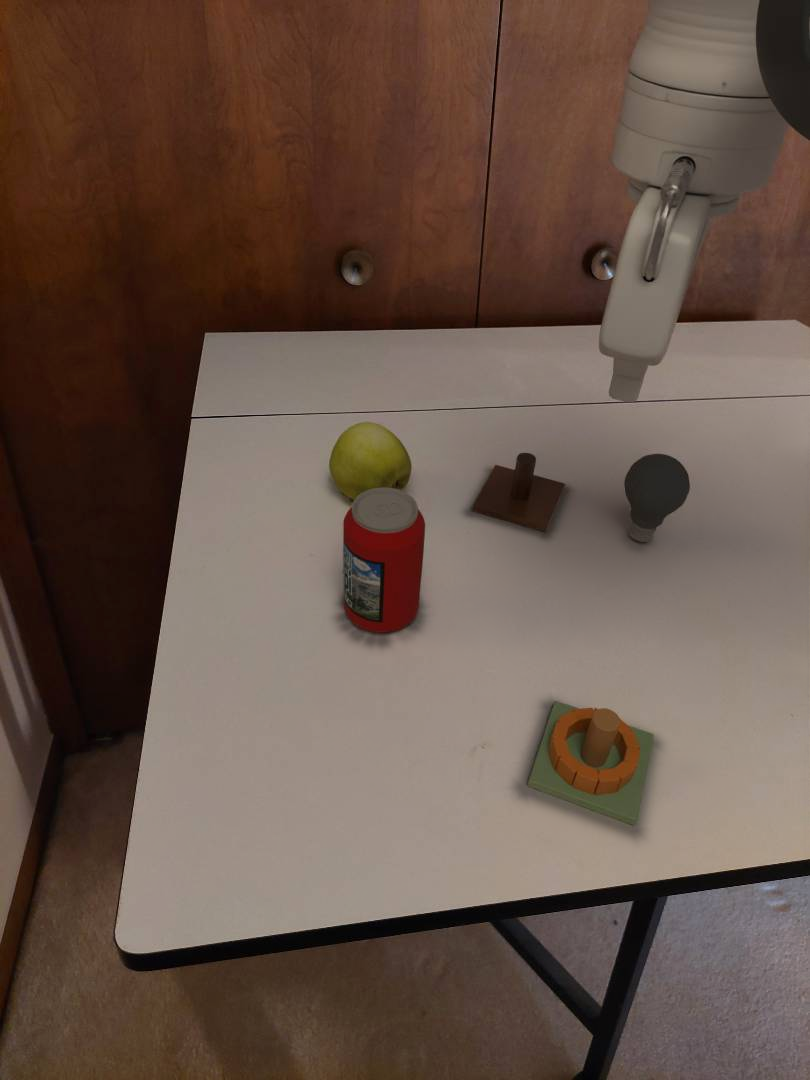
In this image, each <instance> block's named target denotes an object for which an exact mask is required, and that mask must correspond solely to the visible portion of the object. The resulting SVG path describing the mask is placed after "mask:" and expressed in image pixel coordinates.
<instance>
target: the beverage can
mask: <svg viewBox="0 0 810 1080" xmlns="http://www.w3.org/2000/svg"><path fill="white" fill-rule="evenodd" d="M425 521H426V520H425V518H424V516H423V514H422V512H421V511H420V509H419V506H418V503H417V501H416V500H415V499H414V497H413V496H412V495H411V494H409V493H408V492H405V491H403V490H398V489H394V488H383V487H382V488H374V489H370V490H367V491H365V492H363V493H361V494H360V495H358V496H357V497H356V498H355V500H353V502H352V505H351V507H350V508H349V509H348V510H347V512H346V513H345V516H344V517H343V522H342V523H343V529H342V534H343V536H342V538H343V539H342V541H343V542H342V545H343V546H342V547H343V548H342V554H343V556H342V560H343V565H342V566H343V567H342V568H343V606H344V610H345V613H346V616H347V617H348V618H349V620H350V621H351V622H352V623H353V624H355V625H356V626H358V627H360V628H362V629H363V630H366V631H370V632H375V633H388V632H393V631H394V632H395V631H397V630H400V629H403V628H405V627H406V626H407V625H410V623H412V621H413V620H414V619H415V618H416V617H417V614H418V611H419V607H420V597H421V596H420V595H421V585H422V577H423V575H422V574H423V561H424V552H425V551H424V550H425V536H426V535H425V534H426V522H425Z"/></svg>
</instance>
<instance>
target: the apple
mask: <svg viewBox="0 0 810 1080" xmlns="http://www.w3.org/2000/svg"><path fill="white" fill-rule="evenodd" d="M328 463H329V464H328V468H329V473H330V476H331V479H332V481H333V483H334V484H335V486H336V488H337V489H338V490H339V491H340V492H341V493H342V494H343V495H344V496H346V497H348V498H350V499H351V500H353V501H354V500H355V498H356V497H357V496H358V495H360V494H361V493H363V492H365V491H367V490H370V489H374V488H382V487H383V488H394V489H398V490H401V491H403V489H404V488H405V487H407V485H408V483H409V481H410V478H411V474H412V467H413V466H412V460H411V458H410V455H409V453H408V451H407V449H406V447H405V445H404V444H403V442H402V441H401V440H400V439H399V438H398V437H397V436H396V434H394V433H393V432H392V431H391V430H390V429H388V428H387V427H385V426H383V425H381V424H378V423H377V422H371V421H362V422H359V423H355V424H353V425H351V426H349V427H348V428H347V429H345V430H344V431H343V432H342V433H341V434H340V435H339V437H338V438H337V440H336V442H335V444H334V445H333V447H332V450H331V453H330V457H329V462H328Z"/></svg>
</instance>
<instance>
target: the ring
mask: <svg viewBox="0 0 810 1080" xmlns="http://www.w3.org/2000/svg"><path fill="white" fill-rule="evenodd" d="M598 709H599V708H597V707H583V708H578V709H574V710H571V711H569V712H568V713H567V714H565V715H564V716H562V717H561V718H560V719H558V722H556V725H555V728H554V732H553V735H552V738H551V742H550V745H549V752H548V753H549V756H550V759H551V762H552V765H553V768H554V769H556V772H557V773H558V774H559V775H560V776H561V777H562V778H563V779H564V780H565V781H566V782H567V783H568V784H569V785H572V784H573V786H572V787H573V788H575V789H578V790H581V791H584V792H586V793H589V794H592V795H593V793H595V795H601V794H610V793H615V792H618V791H619V790H620V789H622V788H623V787H624V786H625V785H627V784H628V783H629V782H630V781H631V779H632V778H633V775H634V773H635V770H636V768H637V765H638V761H639V756H640V746H639V744H638V741H637V739H636V737H635V734H634V732H633V731H631V730H632V729H631V728H630V727H629V726H630V725H629V724H627V723H626V722H624V721H623V720H622V719H621V718H620V726H619V729H618V732H617V734H616V737H615V740H614V742H613V744H614V745H615V746H616V747H617V749H618V752H619V754H620V757H621V759H622V761H621V763H620V764H618V765H617V766H616V767H615V768H612V769H602V770H597V769H594V768H591V767H589V766H586V765H583V764H581V763H580V762H579V761H578V760H577V759H576V758H575V757H574V756H573V755H572V754H570V751H569V749H568V746H567V743H566V739H568V738H569V737H570V736H572V735H573V734H575V733H579V732H587V731H588V728H589V725H590V722H591V719H592V716H593V713H594V712H595V711H596V710H598Z"/></svg>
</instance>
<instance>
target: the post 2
mask: <svg viewBox="0 0 810 1080" xmlns="http://www.w3.org/2000/svg"><path fill="white" fill-rule="evenodd" d="M574 709H579V708H578V707H575V706H572V705H570V704H567V703H564V702H560V701H558V700H554V702H553V705H552V707H551V711H550V713H549V716H548V720H547V723H546V726H545V730H544V732H543V735H542V737H541V742H540V743H539V744H540V745H539V747H538V751H537V754H536V757H535V760H534V763H533V766H532V769H531V772H530V775H529V778H528V781H527V787H529V788H532V789H535V790H537V791H540V792H543V793H546V794H548V795H551V796H554V797H556V798H559V799H562V800H564V801H567V802H569V803H573V804H574V805H578V806H580V807H584V808H586V809H588V810H591V811H593V812H597V813H600V814H602V815H605V816H607V817H610V818H613V819H616V820H619V821H621V822H624V823H626V824H629V825H632V826H635V825H636V823H637V821H638V816H639V812H640V807H641V802H642V797H643V791H644V786H645V782H646V776H647V771H648V766H649V762H650V756H651V752H652V748H653V747H652V746H653V741H654V736H655V734H654V733H652V732H649V731H646V730H643V729H640V728H637V727H634V726H631V725H628V726H629V727H630V728H631V729H632V730H631V731H633V732H634V734H635V737H636V739H637V741H638V744H639V746H640V756H639V761H638V765H637V768H636V770H635V773H634V775H633V778H632V779H631V781H630V782H629V783H628V784H627V785H625V786H624V787H623V788H622V789H620V790H619V791H618V792H615V793H610V794H601V795H595V793H593V795H592V794H589V793H586V792H584V791H581V790H578V789H575V788H573V787H572V786H573V784H572V785H569V784H568V783H567V782H566V781H565V780H564V779H563V778H562V777H561V776H560V775H559V774H558V773H557V772H556V769H554V768H553V765H552V762H551V759H550V756H549V753H548V752H549V745H550V742H551V738H552V735H553V732H554V728H555V725H556V722H558V719H560V718H561V717H562V716H564V715H565V714H567V713H568V712H569V711H571V710H574ZM597 709H598V710H596V711H595V712H594V713H593V716H592V719H591V722H590V725H589V728H588V731H587V732H579V733H575V734H573V735H572V736H570V737H569V738H568V739H566V743H567V746H568V749H569V751H570V754H572V755H573V756H574V757H575V758H576V759H577V760H578V761H579V762H580V763H581V764H583V765H586V766H589V767H591V768H594V769H597V770H602V769H612V768H615V767H616V766H617V765H618V764H620V763H621V761H622V759H621V757H620V754H619V752H618V749H617V747H616V746H615V745H614V744H613V742H614V740H615V737H616V734H617V732H618V729H619V726H620V719H621V718H620V716H619V715H618V713H616V712H615V711H614V710H612V709H610V708H606V707H605V708H604V707H602V708H597Z"/></svg>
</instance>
